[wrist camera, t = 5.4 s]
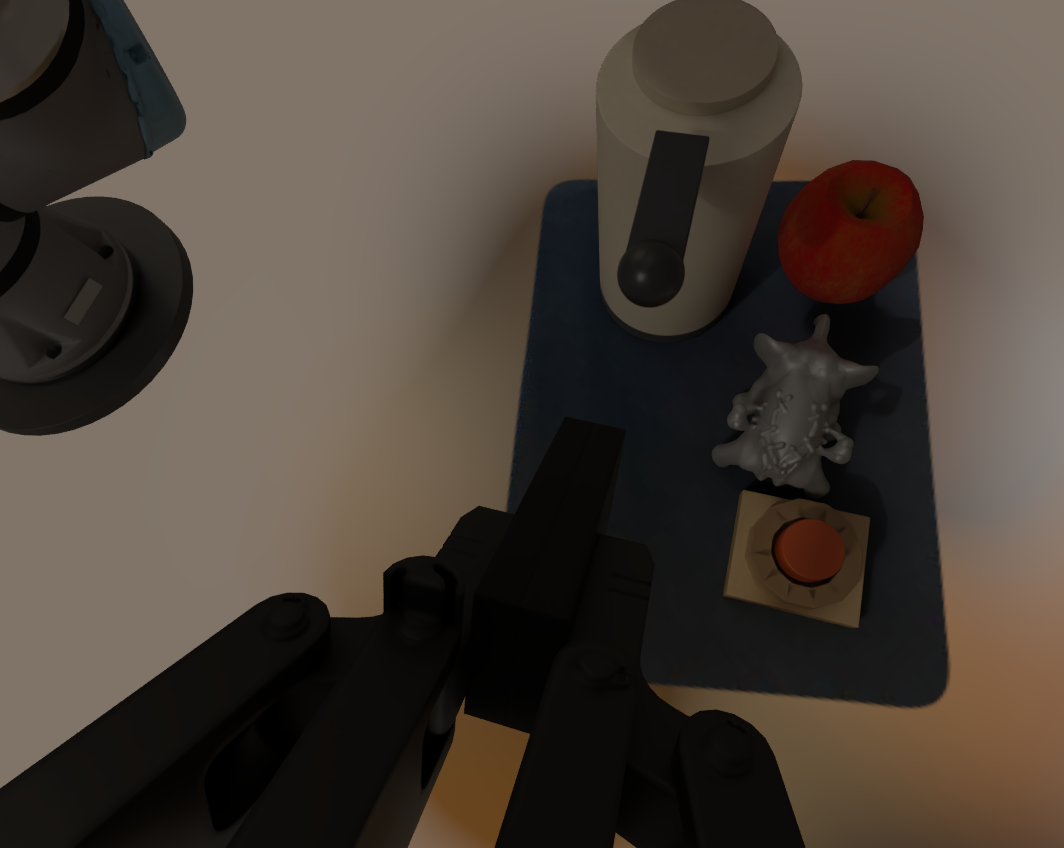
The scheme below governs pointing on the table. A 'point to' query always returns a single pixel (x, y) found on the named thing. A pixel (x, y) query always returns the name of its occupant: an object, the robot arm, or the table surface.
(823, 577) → the button
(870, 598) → the table surface
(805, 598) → the button base
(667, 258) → the switch
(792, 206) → the apple
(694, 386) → the table surface
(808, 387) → the grey toy figure
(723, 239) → the beige cylinder
